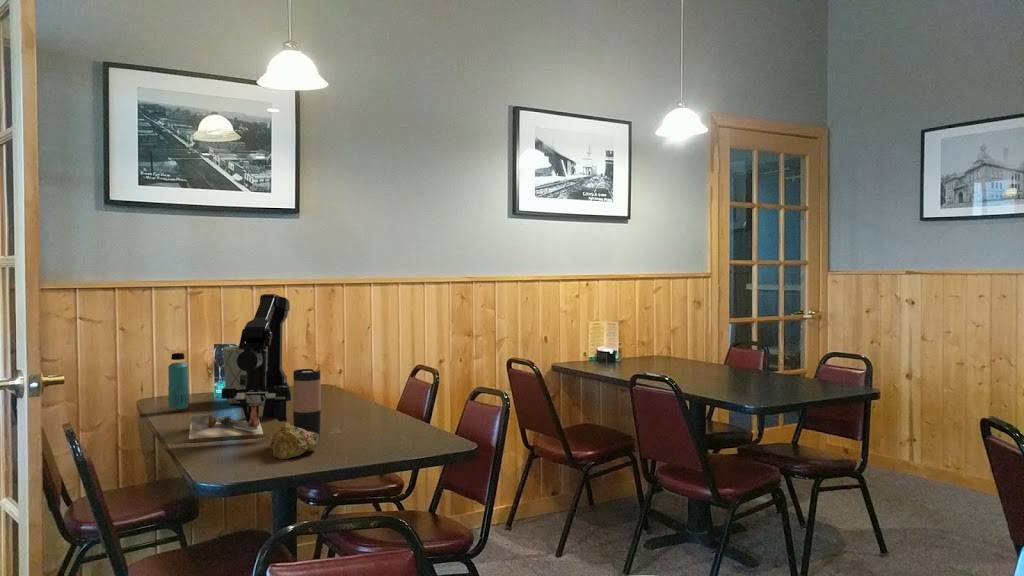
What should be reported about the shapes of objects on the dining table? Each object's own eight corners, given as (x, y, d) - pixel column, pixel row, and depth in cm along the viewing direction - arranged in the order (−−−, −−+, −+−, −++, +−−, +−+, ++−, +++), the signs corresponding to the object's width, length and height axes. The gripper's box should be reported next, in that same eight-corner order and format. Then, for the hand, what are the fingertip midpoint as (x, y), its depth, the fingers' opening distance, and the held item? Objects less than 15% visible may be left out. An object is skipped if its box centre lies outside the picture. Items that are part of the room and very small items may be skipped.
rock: (305, 469, 210) (320, 434, 213) (309, 471, 202) (325, 434, 205) (263, 453, 207) (280, 418, 210) (266, 454, 199) (283, 417, 202)
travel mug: (293, 443, 219) (293, 372, 219) (293, 438, 226) (293, 369, 226) (321, 442, 221) (321, 372, 221) (320, 436, 228) (320, 368, 228)
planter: (235, 397, 296) (235, 344, 295) (285, 397, 295) (285, 345, 294) (214, 406, 277) (214, 350, 276) (267, 406, 276) (267, 350, 275)
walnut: (216, 425, 238) (216, 413, 238) (216, 427, 235) (216, 415, 234) (203, 425, 237) (203, 414, 237) (203, 428, 233) (203, 416, 233)
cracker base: (259, 423, 247) (259, 407, 247) (263, 437, 226) (263, 420, 226) (190, 427, 239) (190, 410, 239) (188, 443, 219) (188, 424, 219)
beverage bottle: (181, 413, 262) (181, 354, 261) (163, 412, 263) (163, 353, 263) (192, 410, 268) (192, 352, 268) (175, 409, 270) (175, 351, 269)
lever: (213, 421, 239) (213, 398, 239) (222, 420, 241) (222, 397, 241) (251, 431, 226) (251, 406, 226) (261, 429, 228) (261, 405, 228)
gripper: (286, 365, 239) (285, 416, 239) (221, 366, 232) (220, 418, 232) (290, 368, 228) (289, 422, 228) (222, 369, 222) (221, 424, 221)
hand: (255, 421), depth 228 cm, fingers open, 4 cm apart
